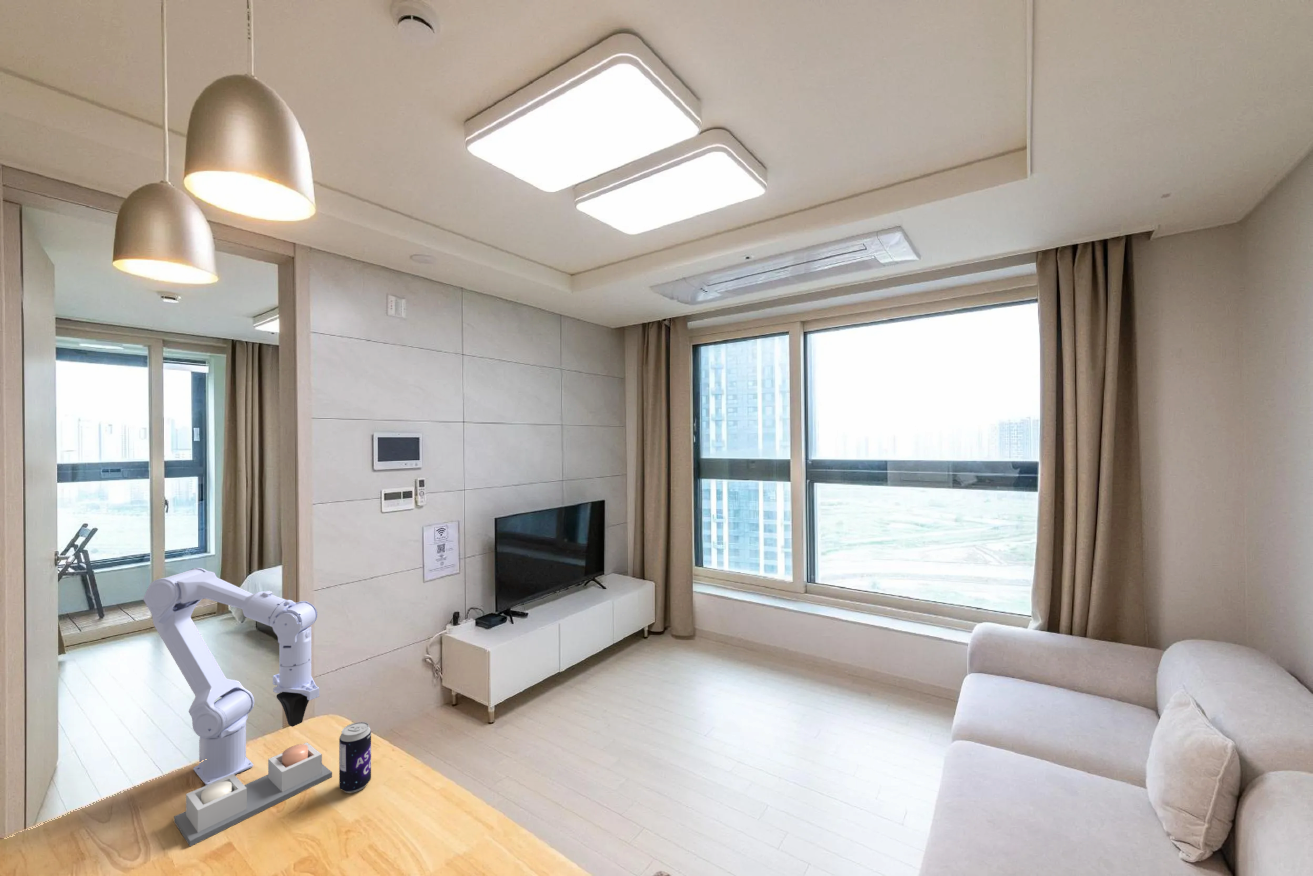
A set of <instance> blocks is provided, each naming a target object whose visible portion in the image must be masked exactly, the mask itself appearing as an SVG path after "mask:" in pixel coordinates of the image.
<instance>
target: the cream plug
mask: <svg viewBox="0 0 1313 876" xmlns="http://www.w3.org/2000/svg"><path fill="white" fill-rule="evenodd" d="M231 792H232V783H231V782H228V781H224V782H219V783H215V784H213V785H211V786H209V787H207V788H206V789H204V790H203V791H202V793H201V802H202V804H203V805H204V804H206V803H208V802H211V801H213V800H215V799H217V798H220V797H222V796H224V795H226V794H228V793H231Z"/></svg>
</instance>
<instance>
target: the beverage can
mask: <svg viewBox="0 0 1313 876" xmlns="http://www.w3.org/2000/svg"><path fill="white" fill-rule="evenodd" d="M338 740H339V743H338V744H339V745H338V747H339V750H338V751H339V757H338V759H339V760H338V761H339V763H338V765H339V766H338V767H339V768H338V770H339V771H338V773H339V774H338V776H339V777H338V779H339V780H338V783H339V784H338V786H339V789H340V791H341V790H342V791H343V792H344V793H346V794H354V793H357V792H360V791H361V790H363V789H364V788H365V787H366V786H367V785H368V784H369V782H370V781H371V779H372V729H371V728H370V725H369V723H368V722H366V721H356V722H353V723H351V724H349V725H346V726H345V727H344V728H342V730H341V734H340V736H339V738H338Z"/></svg>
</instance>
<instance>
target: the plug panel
mask: <svg viewBox="0 0 1313 876" xmlns="http://www.w3.org/2000/svg"><path fill="white" fill-rule="evenodd" d="M303 744H305V745H307V746H308V758H306V759H304V760H302V761H300V762H298V763H295V764H293V765H291V766H289V767H285V766H284V765H282V754H283V752H281V753H279V754H277V755H275V756H272V757H270V758H268V763H267V766H268V767H267V768H268V769H267V770H268V773H267V774H266V775H263V776H261V777H259V778H257V779H255V780H252V781H251V782H248V783H246V784H244V783H243V782H242V781H241V780H240V779H239V777H237V776H236V774H235V775H234V774H232V775H230V776H227V777H225V778H223V779H220V780H218V781H216V782H213V783H211V784H208V785H204V786H201V787H200V788H197V789H195V790H192V791H190V792H188V793H186V794H185V811H183V812H181V813H178V814H176V815H174V816H173V822H174V824H175V825H176V828H177V829H178V830H179V832H180V833H181V834H182V837H183V838H184V840H185V841H186V843H187V845H188V846H189V847H192V846H193V845H194V846H195V845H196V844H198V843H200V842H202V841H204V840H206V839H209V838H211V837H213V836H214V835H216V834H219V833H221V832H223V831H225V830H227V829H229V828H231V827H233V826H236V825H237V824H239V823H242V821H245V820H246V819H250V818H251V817H253V816H255V815H257V814H259V813H261V812H263V811H265V810H267V809H269V808H271V807H273V806H275V805H278V804H279V803H282V802H283V801H286V800H287V799H290V798H292V797H294V796H296V795H297V794H300V793H302V792H304V791H306V790H308V789H310V788H312V787H315V786H316V785H318V784H321V783H322V782H325V781H327V780H329V779H330V778H332V777H333V772H332V771H331V770H330V769H329V768H328V767H327V766H325V765H324V764H323V754H322V753H321V752H320V751H318V750H317V749H316V748H315V747H314V746H312V745H311V744H310V743H308V742H305V743H303ZM224 781H228V782H231V783H232V792H231V793H228V794H226V795H224V796H222V797H220V798H217V799H215V800H213V801H211V802H208V803H206V804H204V805H203V804H202V802H201V793H202V791H203V790H204V789H206V788H207V787H209V786H211V785H213V784H215V783H219V782H224Z"/></svg>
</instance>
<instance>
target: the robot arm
mask: <svg viewBox="0 0 1313 876" xmlns="http://www.w3.org/2000/svg"><path fill="white" fill-rule="evenodd" d="M203 599H206V600H210V601H213V602H216V603H219V604H223V605H227V606H230V607H234V608H237V609H241V610H242V615H243V617H245V618H247V619H250V620H253V621H254V622H257V623H260V624H264V625H266V626H268V627H271V628H272V631H273V633H274V634H275V635H276V636H277V643H278V645H279V647H278V648H279V649H278V650H279V654H278V655H279V656H278V657H279V658H278V659H279V661H278V662H279V664H278V665H279V669H278V670H279V671H278V673H276V674H274V675H272V685H275V687H273V692H274V693H275V694H276V695H275V696H276V699H277V700H278V702H279V703H280V705H281V706H282V708H283V711H284V714H285V717H286V721H287V723H288V726H289V727H292V728H293V727H295V726H298V725H300V724H302V723H303V720H304V717H305V712H306V710H307V706H308V705H309V703H310V701H312V700H315V699H317V698H319V697H320V687H319V686H317V684H316V682H315V680H314V678H313V676H312V634H313V633H312V625H313V624H315V622H316V621H317V618H318V611H317V610H318V609H317V608H316V607H315V605H314V604H313V603H311V602H309V601H307V600H301V601H298V602H295V601H294V600H291V599H286V598H283V597H279V596H278V595H277V596H276V595H274V592H273V591H271V590H265V591H264V590H263V591H262V590H261V591H257V592H255V593H253V592H250V591H249V590H245V589H244V588H241V587H239V586H237V585H236V584H232V583H231V582H228V581H226V580H224V579H221V578H220V577H218V576H217V575H216V573H215V571H210V570H207V569H205V568H202V567H195V568H191V569H189V570H187V571H184V572H180V573H177V574H173V575H169V576H167V577H162V578H158V579H155V580H153V581H152V582H151V583H150V584H149V585H148V587H147V589H146V591H145V594H144V596H143V598H142V600H143V602H144V603H145V605H146V607H147V609H148V610H149V611H150V614H151V617H152V623H153V626H154V628H155V629H156V631H157V633H158V635H159V637H160V638H161V640H162V642H163V644H164V645H165V646H166V648H167V650H168V652H169V654H170V656H171V657H172V658H173V660H174V662H175V665H177V667H178V668H179V670H180V672H181V673H182V675H183V677H184V679H185V681H186V682H187V684H188V686H189V687H190V689H191V691H192V693H193V695H194V696H195V697H194V699H193V700H192V703H191V705H190V707H189V709H188V713H189V715H190V717H191V721H192V729H193V731H194V733H195V734H196V735H197V736H199V740H198V741H199V742H198V745H199V748H198V752H199V753H198V755H199V757H198V758H199V759H198V760H199V761H198V762H201V761H202V760H204V761H203V762H201V763H198V764H197V765H195V766H194V767H193V771H194V773H196V775H197V776H198V777H199V779H200V780H201V781H202V782H203V784H204V786H206V785H208V784H211V783H213V782H216V781H218V780H220V779H223V778H225V777H227V776H230V775H232V774H234V775H235V776H236V775H237V774H240V773H242V772H245V771H247V770H248V769H252V768H253V767H254V763H253V762H252V761H251V760H250V759H249V758H248V757H247V720H248V717H249V714H250V713H251V712H252V711H253V709H254V706H255V697H254V695H253V693H252V692H251V691H250V690H248V689H247V688H245V687H244V686H243V685H242V683H241V682H240V681H239V680H236V679H230V678H227V677H226V676H225V673H224V671H223V670H222V669H221V667H220V665H219V663H218V661H217V660H216V658H215V656H214V654H213V653H212V652H211V650H210V648H209V646H208V644H207V642H206V641H205V640H204V638H203V636H202V634H201V633H200V631H199V629H198V627H197V626H196V624H195V622H194V621H193V619H192V614H193V613H194V610H195V608H196V607H197V606H198V605H199V603H200V602H201V601H202V600H203ZM218 698H219V699H218ZM217 699H218V700H217ZM205 759H207V760H205Z"/></svg>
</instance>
